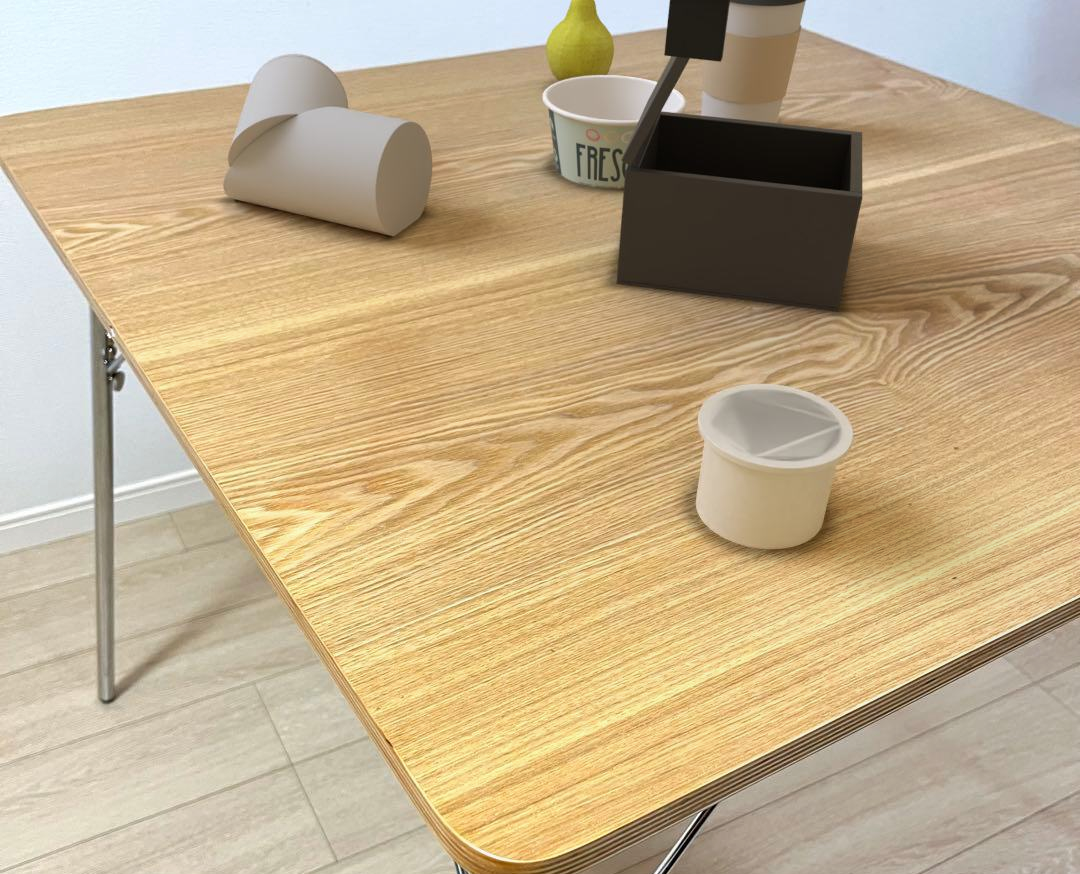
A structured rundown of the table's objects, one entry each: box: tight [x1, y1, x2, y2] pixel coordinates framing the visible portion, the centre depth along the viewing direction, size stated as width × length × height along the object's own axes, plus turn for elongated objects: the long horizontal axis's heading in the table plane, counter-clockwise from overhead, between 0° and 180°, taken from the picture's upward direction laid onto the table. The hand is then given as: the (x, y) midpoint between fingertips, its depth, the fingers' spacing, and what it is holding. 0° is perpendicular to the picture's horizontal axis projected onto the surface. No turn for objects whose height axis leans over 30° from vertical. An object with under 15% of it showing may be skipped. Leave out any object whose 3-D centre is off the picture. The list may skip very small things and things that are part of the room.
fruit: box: [545, 0, 615, 82], centre depth 113 cm, size 7×7×12 cm
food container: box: [541, 74, 687, 190], centre depth 97 cm, size 12×12×6 cm
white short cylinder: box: [695, 383, 855, 550], centre depth 59 cm, size 8×8×6 cm
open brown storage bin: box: [615, 111, 863, 313], centre depth 82 cm, size 16×13×9 cm
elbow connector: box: [222, 53, 433, 237], centre depth 91 cm, size 18×10×20 cm
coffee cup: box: [700, 0, 807, 123], centre depth 103 cm, size 9×9×15 cm
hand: (710, 20), depth 59 cm, fingers open, 13 cm apart
